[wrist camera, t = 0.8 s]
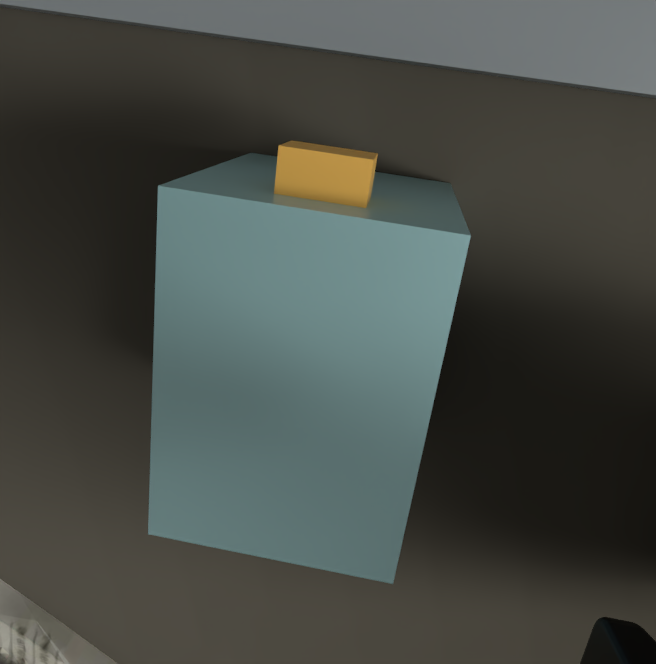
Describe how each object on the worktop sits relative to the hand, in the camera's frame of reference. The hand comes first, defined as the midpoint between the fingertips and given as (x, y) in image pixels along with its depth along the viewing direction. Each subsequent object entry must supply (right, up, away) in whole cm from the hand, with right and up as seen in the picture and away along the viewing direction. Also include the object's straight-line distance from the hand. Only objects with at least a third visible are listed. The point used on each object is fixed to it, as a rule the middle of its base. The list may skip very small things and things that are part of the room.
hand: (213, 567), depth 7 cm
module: (+1, +4, +9) cm, 10 cm away
